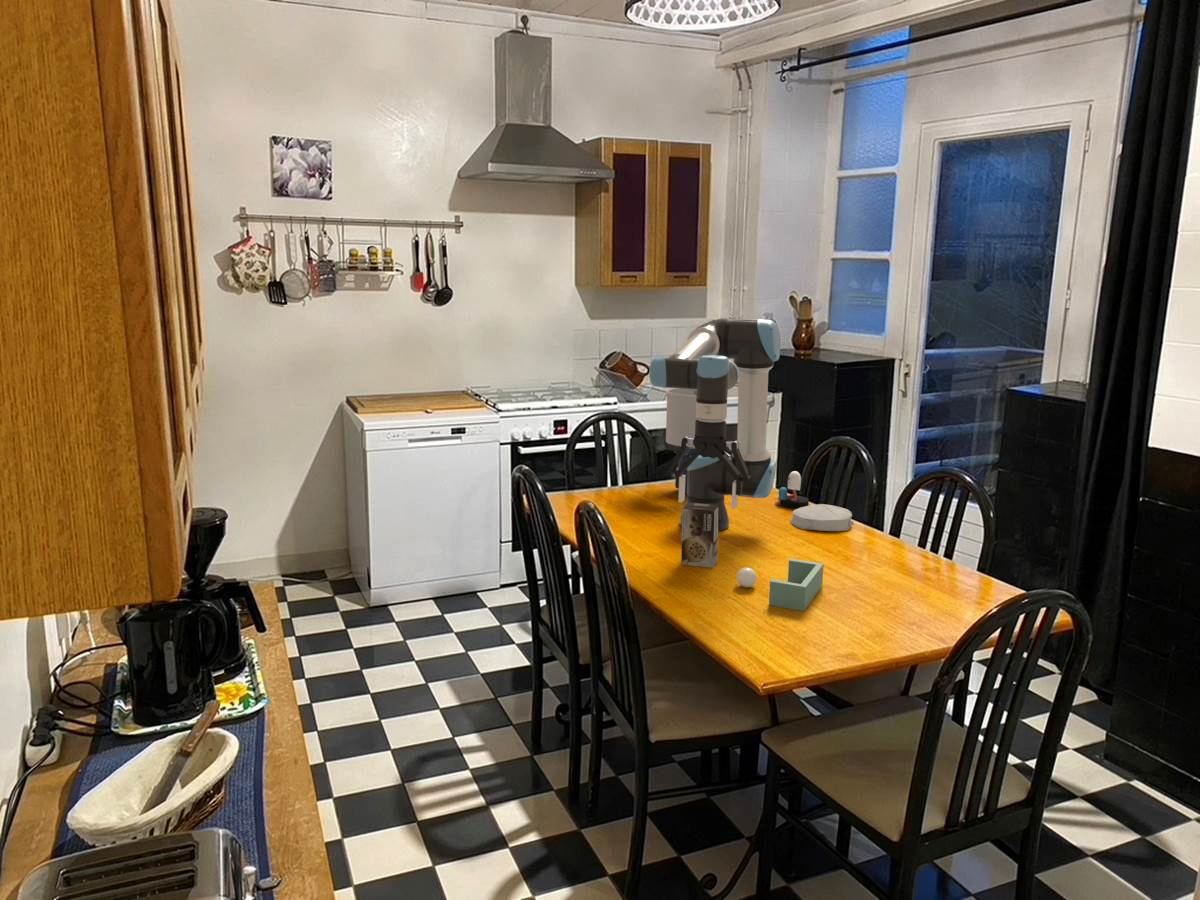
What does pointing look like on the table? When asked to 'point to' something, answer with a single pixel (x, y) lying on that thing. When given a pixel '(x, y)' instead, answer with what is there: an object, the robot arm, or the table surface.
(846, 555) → the table surface
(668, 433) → the lamp
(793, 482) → the figurine
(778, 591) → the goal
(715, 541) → the coffee box
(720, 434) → the robot arm
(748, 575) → the ball
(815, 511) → the food container
